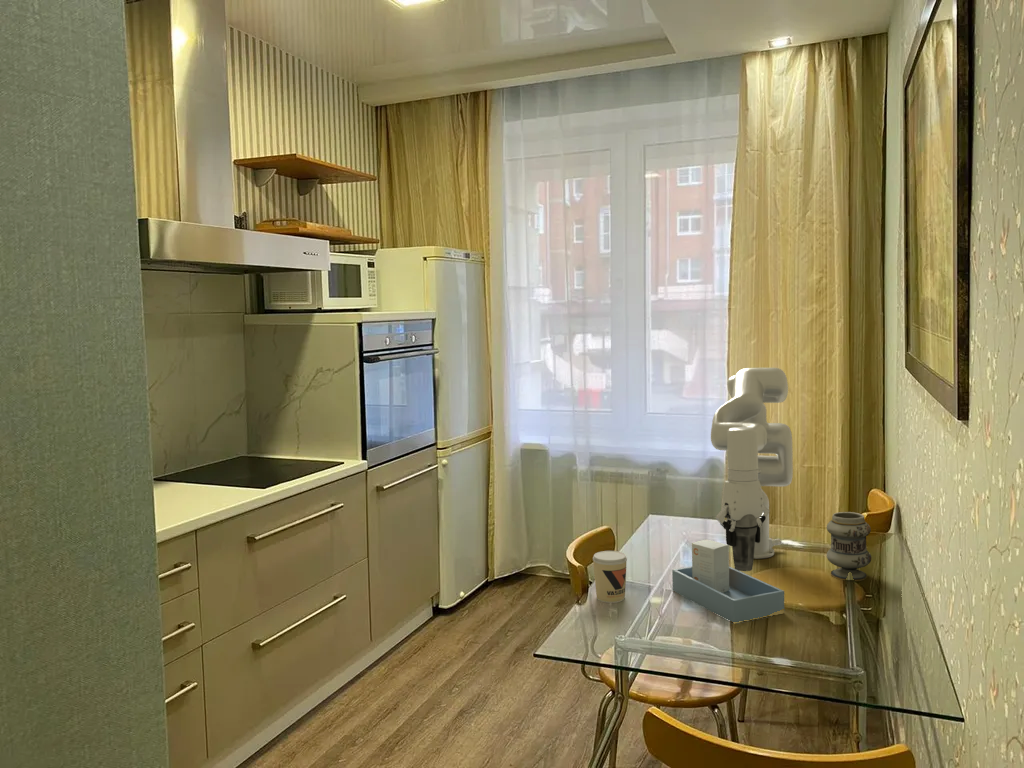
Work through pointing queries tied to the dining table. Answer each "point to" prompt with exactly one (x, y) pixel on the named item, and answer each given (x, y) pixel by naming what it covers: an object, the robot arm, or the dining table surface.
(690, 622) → the dining table surface
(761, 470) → the robot arm
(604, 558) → the cream lidded tub
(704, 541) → the small box
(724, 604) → the tray
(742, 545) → the beverage cup
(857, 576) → the apothecary jar
